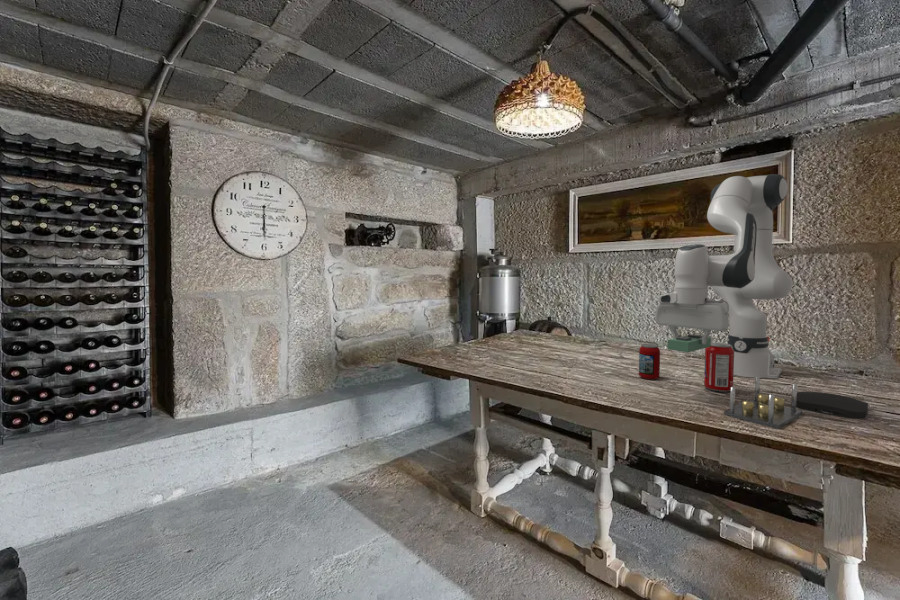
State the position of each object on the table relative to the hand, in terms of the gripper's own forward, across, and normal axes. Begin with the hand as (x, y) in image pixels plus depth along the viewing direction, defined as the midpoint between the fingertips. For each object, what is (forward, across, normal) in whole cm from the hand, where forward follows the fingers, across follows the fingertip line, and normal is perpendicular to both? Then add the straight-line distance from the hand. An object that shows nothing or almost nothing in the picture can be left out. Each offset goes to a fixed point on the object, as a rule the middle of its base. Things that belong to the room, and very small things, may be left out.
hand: (689, 342), depth 123 cm
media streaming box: (+18, -28, -20) cm, 39 cm away
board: (+2, 0, 0) cm, 2 cm away
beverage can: (+17, +18, -10) cm, 27 cm away
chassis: (+17, -20, +1) cm, 26 cm away
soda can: (+17, -3, -14) cm, 22 cm away
